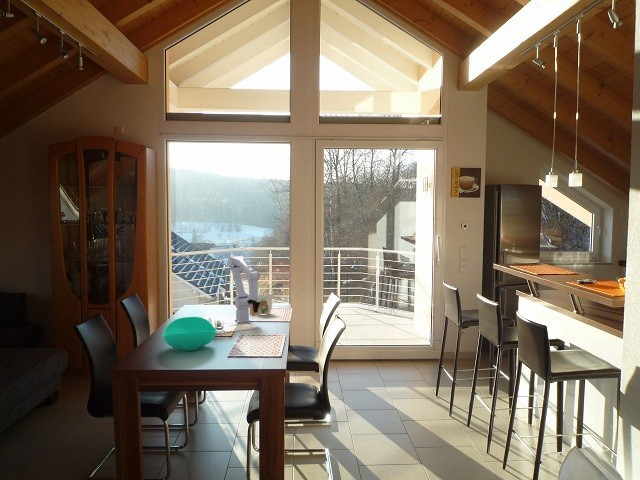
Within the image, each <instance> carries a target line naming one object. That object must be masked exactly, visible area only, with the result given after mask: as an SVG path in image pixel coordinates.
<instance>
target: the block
mask: <svg viewBox="0 0 640 480" xmlns="http://www.w3.org/2000/svg"><path fill="white" fill-rule="evenodd" d="M259 315H260V314H259V307H258V312H256V313H254V310H253V305H252V304H249V316H251V317H254V316H255V317H256V316H259Z"/></svg>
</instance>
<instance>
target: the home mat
mask: <svg viewBox="0 0 640 480" xmlns="http://www.w3.org/2000/svg"><path fill="white" fill-rule="evenodd" d="M236 325H237V326H236V328H235V330H234V332H233V333H236V332H243V331H250V330H255V329H256V327H254V326H252V325H250V324H248V323H241V324H236Z"/></svg>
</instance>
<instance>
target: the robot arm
mask: <svg viewBox="0 0 640 480" xmlns="http://www.w3.org/2000/svg"><path fill="white" fill-rule="evenodd" d="M227 264H228V268H229V270H230V271H231V273H232V278H233V282H234V285H235V290H236V295H235V297H234V306H235V308H236V310H235V317H236V318H235V320H236V319H237V320H238V321H239V322H238V323H239V324H240V323H241V324H244V323H249V322H250V323H251V322H252V320H251V319H250V311H249V304H252V305H253V310H254V313H256V312H258V307H259V305H260V303H261V302H260V299H259V298H260V297H258V295H259V280H260V272H259V271H258V270H254V269H253V267H252V266H251V265H249V264H247V262H246V259H245V257H244V255H236V256H229V257H228V259H227ZM241 270H242V272H243V273H244V274H245V276H246V279H247V284H248V293H247V292H246V291H245V288H244V284H243V279H242V276H241Z"/></svg>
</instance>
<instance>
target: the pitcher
mask: <svg viewBox="0 0 640 480" xmlns="http://www.w3.org/2000/svg"><path fill="white" fill-rule="evenodd" d="M275 296H276V294H258V297H260V298H259V299H260V302H261V303H260V305H259V315H260V314H269V315H270V314H271V311H272V307H273V301H272V300H273V298H274V297H275Z"/></svg>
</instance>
